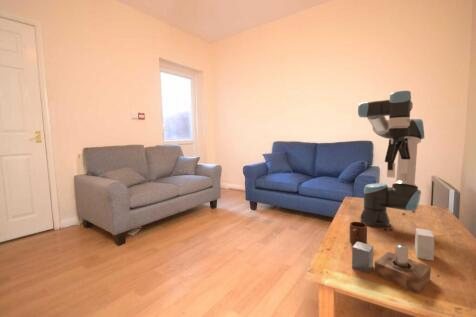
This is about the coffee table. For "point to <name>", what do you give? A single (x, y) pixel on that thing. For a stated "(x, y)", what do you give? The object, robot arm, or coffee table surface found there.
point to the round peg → (401, 256)
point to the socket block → (403, 272)
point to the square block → (362, 257)
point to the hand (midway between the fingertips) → (397, 175)
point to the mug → (358, 232)
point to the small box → (424, 244)
